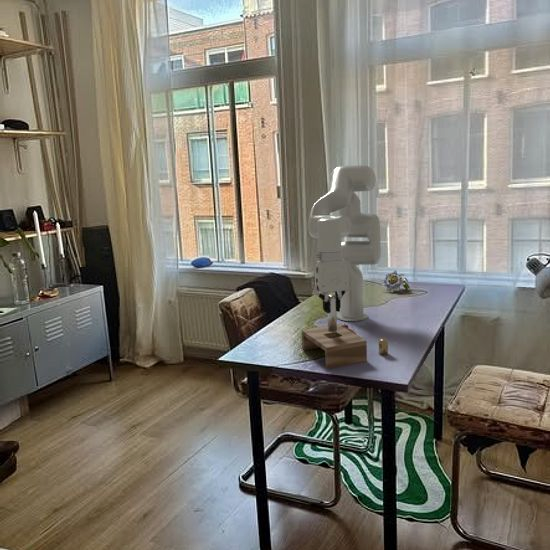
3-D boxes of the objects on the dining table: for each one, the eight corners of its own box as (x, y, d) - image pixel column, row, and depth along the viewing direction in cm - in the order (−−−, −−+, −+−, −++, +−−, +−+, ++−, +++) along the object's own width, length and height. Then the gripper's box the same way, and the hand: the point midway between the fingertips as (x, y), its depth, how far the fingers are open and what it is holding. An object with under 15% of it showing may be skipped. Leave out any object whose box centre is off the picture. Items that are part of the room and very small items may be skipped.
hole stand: (302, 349, 184) (301, 330, 183) (338, 342, 189) (337, 323, 187) (327, 368, 166) (326, 347, 164) (366, 361, 170) (366, 340, 169)
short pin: (377, 353, 177) (376, 339, 176) (384, 351, 178) (384, 337, 177) (381, 356, 174) (381, 341, 173) (389, 354, 175) (389, 340, 174)
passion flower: (392, 303, 255) (377, 284, 254) (395, 293, 264) (380, 275, 263) (412, 292, 249) (396, 272, 248) (414, 282, 258) (399, 263, 257)
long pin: (326, 330, 176) (325, 295, 174) (334, 328, 177) (333, 293, 175) (330, 332, 173) (329, 297, 171) (338, 331, 174) (337, 295, 172)
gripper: (311, 261, 164) (314, 318, 168) (358, 255, 170) (359, 310, 173) (302, 257, 171) (304, 312, 175) (347, 252, 176) (348, 305, 180)
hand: (331, 311), depth 174 cm, fingers closed on long pin, 3 cm apart
